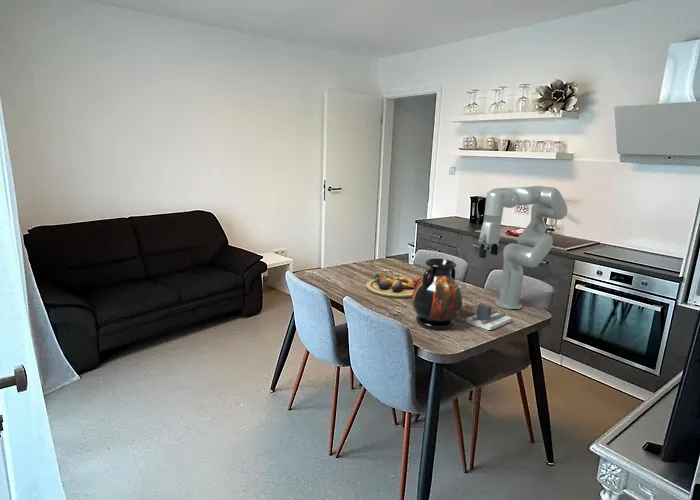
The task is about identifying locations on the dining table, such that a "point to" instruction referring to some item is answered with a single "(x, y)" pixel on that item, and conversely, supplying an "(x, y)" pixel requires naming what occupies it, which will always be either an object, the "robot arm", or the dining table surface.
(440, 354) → the dining table surface
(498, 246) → the robot arm
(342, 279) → the dining table surface
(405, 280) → the wooden plate with food
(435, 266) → the amphora vase
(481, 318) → the fader knob
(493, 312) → the fader console
